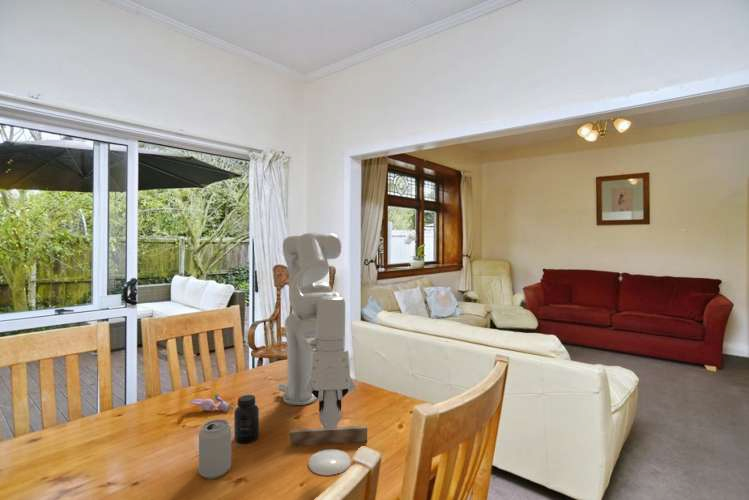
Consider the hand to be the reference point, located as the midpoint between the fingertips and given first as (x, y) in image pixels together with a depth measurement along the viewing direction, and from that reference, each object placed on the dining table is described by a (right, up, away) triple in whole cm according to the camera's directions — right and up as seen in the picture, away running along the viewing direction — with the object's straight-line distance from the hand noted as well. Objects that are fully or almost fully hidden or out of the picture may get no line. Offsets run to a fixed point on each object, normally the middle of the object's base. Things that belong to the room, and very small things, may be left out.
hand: (330, 413), depth 99 cm
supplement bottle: (-26, -13, +12) cm, 31 cm away
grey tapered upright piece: (0, -3, 0) cm, 3 cm away
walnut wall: (-1, -13, +10) cm, 16 cm away
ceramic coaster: (0, -13, 0) cm, 13 cm away
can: (-28, -13, -4) cm, 32 cm away
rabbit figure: (-44, -12, +30) cm, 54 cm away
